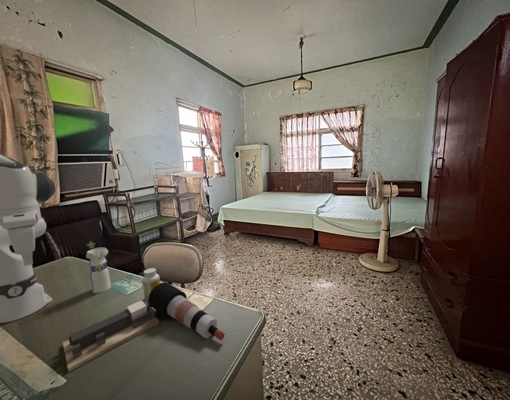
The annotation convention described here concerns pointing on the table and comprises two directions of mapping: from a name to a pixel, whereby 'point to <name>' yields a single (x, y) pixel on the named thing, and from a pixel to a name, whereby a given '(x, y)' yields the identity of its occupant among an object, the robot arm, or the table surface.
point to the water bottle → (98, 269)
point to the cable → (182, 310)
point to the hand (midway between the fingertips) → (29, 260)
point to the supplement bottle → (150, 281)
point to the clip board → (108, 340)
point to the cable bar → (108, 325)
